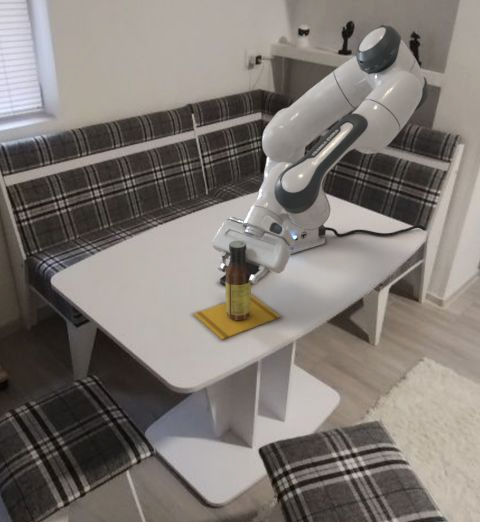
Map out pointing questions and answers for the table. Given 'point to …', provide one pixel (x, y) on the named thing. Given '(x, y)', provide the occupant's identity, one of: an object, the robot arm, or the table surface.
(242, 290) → the sauce bottle
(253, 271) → the phone
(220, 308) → the tray
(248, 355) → the table surface
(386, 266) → the table surface
